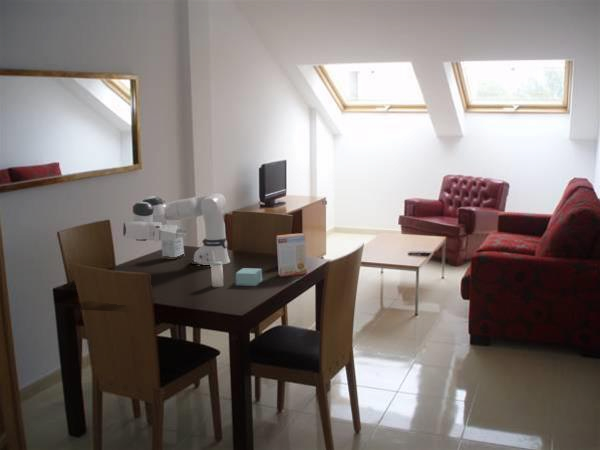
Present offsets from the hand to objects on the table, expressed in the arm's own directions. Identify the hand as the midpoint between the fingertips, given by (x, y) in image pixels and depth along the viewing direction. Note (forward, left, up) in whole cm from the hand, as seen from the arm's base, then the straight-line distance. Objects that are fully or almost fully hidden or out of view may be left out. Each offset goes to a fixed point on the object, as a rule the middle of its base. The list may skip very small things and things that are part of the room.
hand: (186, 233), depth 321 cm
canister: (+12, +5, -27) cm, 30 cm away
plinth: (+26, +12, -27) cm, 40 cm away
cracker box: (+43, +30, -27) cm, 59 cm away
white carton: (-38, +59, -27) cm, 75 cm away
